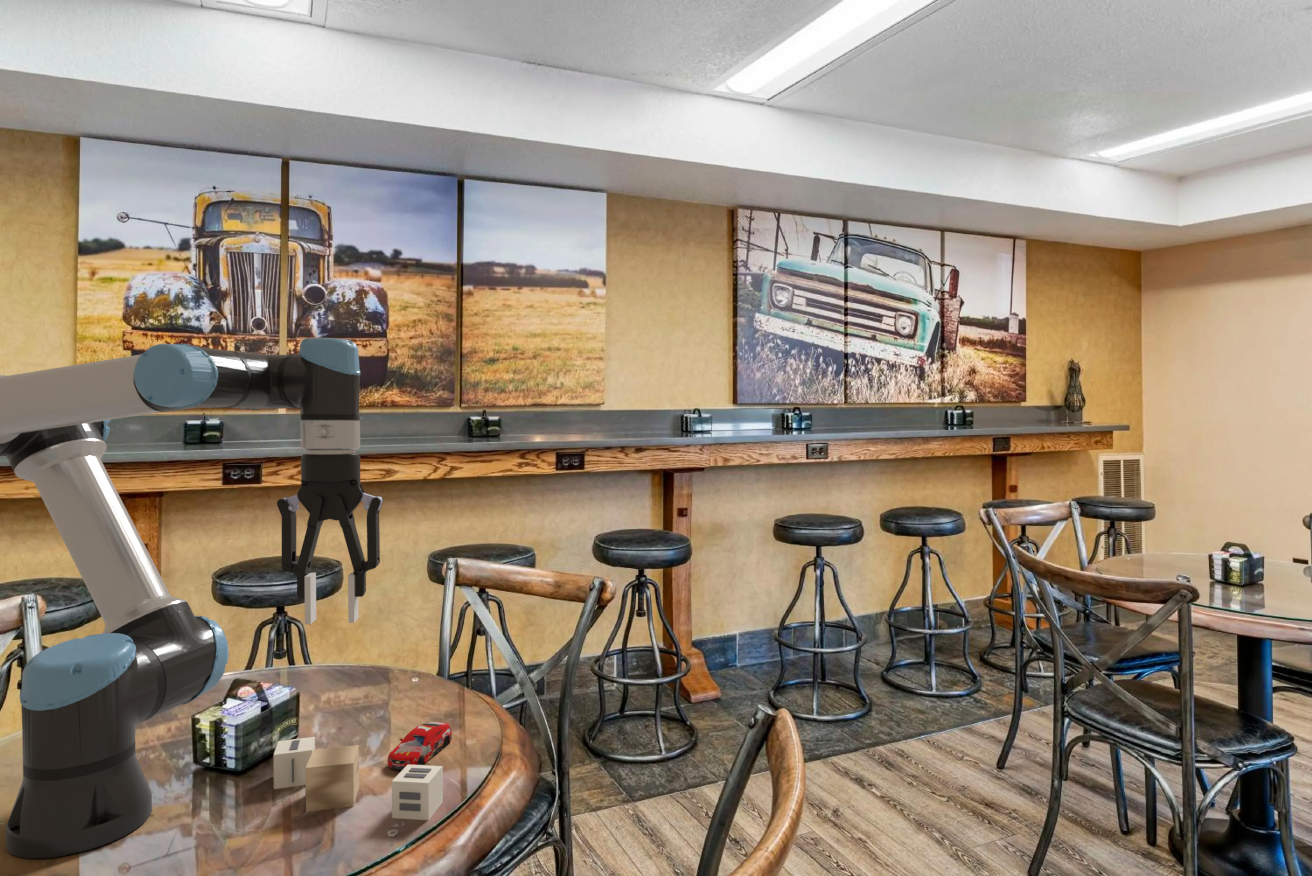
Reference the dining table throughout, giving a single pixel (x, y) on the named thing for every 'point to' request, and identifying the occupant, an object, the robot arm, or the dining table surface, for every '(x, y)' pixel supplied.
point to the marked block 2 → (417, 792)
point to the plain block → (332, 778)
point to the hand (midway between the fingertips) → (332, 620)
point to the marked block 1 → (292, 762)
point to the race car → (420, 745)
